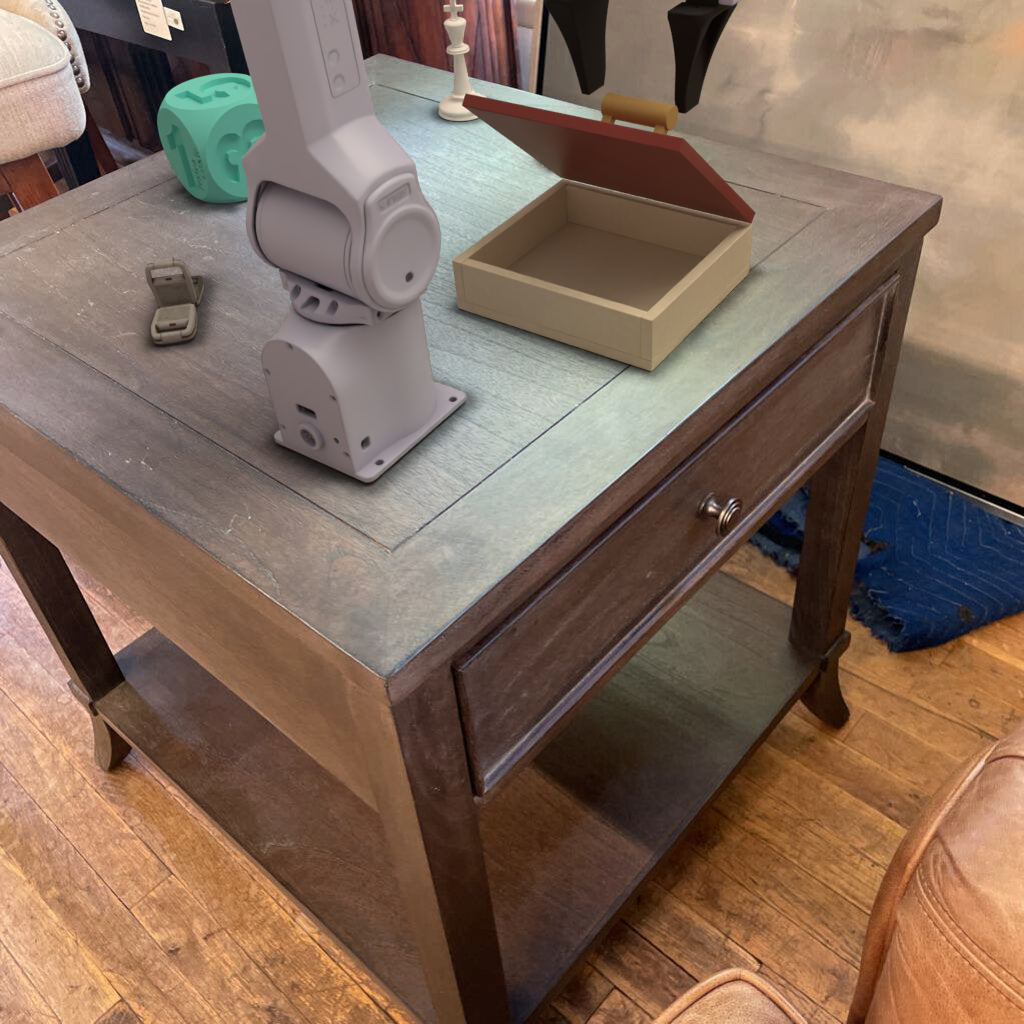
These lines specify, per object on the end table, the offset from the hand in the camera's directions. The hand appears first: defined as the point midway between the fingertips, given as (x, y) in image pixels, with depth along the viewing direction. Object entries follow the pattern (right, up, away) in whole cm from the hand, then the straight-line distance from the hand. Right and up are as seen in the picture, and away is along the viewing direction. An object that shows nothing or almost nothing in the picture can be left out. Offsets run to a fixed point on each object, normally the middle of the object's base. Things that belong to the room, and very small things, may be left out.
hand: (639, 98), depth 75 cm
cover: (-2, -6, -5) cm, 8 cm away
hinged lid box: (-2, -13, 0) cm, 14 cm away
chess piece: (-13, +9, +26) cm, 30 cm away
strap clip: (-33, -15, +3) cm, 36 cm away
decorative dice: (-33, -1, +18) cm, 38 cm away
